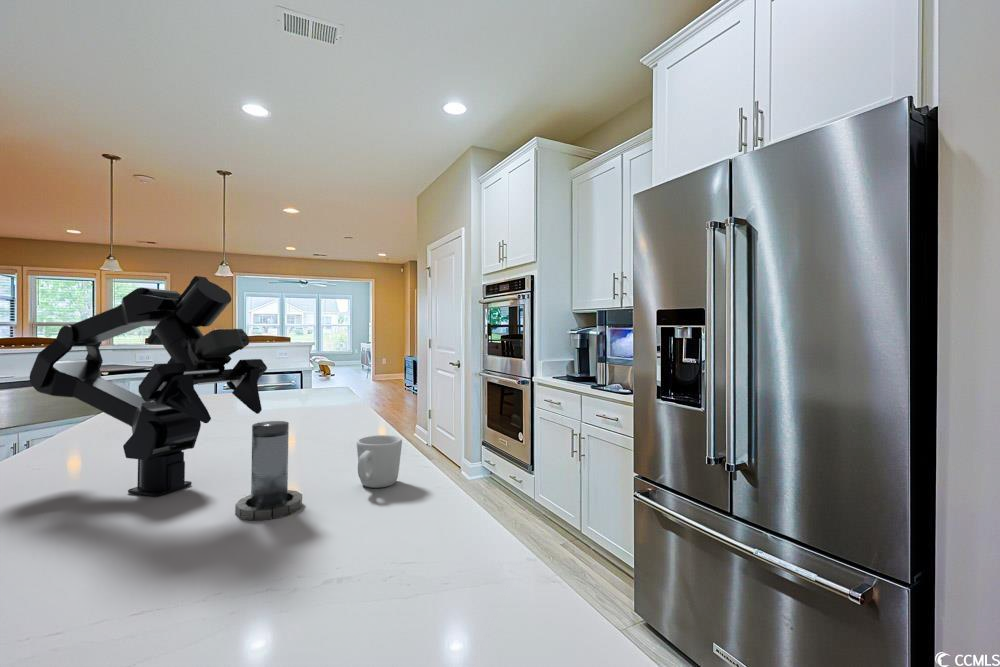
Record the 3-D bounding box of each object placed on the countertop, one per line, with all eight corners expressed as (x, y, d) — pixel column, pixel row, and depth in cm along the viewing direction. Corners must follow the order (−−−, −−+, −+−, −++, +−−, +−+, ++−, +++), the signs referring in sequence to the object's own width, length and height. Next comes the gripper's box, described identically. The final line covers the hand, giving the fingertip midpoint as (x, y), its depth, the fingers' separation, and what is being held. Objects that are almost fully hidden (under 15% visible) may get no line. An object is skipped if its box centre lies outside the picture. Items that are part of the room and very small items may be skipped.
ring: (221, 516, 66) (221, 506, 66) (267, 496, 75) (267, 487, 75) (272, 523, 64) (273, 513, 64) (313, 501, 73) (313, 492, 73)
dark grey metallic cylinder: (247, 516, 67) (248, 428, 67) (254, 504, 71) (256, 421, 71) (284, 513, 68) (285, 426, 68) (289, 501, 73) (290, 420, 73)
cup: (382, 498, 75) (383, 450, 75) (338, 494, 76) (339, 447, 76) (408, 478, 85) (409, 436, 85) (369, 475, 87) (370, 433, 87)
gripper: (153, 308, 66) (207, 388, 62) (260, 314, 83) (307, 377, 79) (116, 361, 68) (165, 441, 64) (227, 356, 86) (271, 419, 82)
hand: (235, 416), depth 73 cm, fingers open, 9 cm apart
